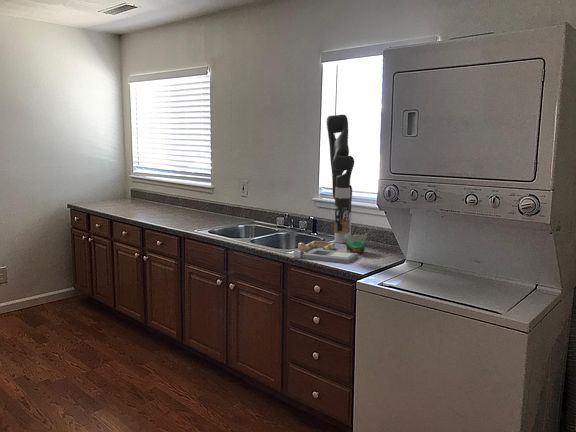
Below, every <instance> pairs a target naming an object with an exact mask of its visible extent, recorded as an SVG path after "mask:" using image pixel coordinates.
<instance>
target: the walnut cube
mask: <svg viewBox="0 0 576 432" xmlns="http://www.w3.org/2000/svg"><path fill="white" fill-rule="evenodd" d="M348 232H350V220H343V221H342V231H341V232H339V231H337V223H335V220H334V221H333V233H334V234H335V233H340V234H347V233H348Z"/></svg>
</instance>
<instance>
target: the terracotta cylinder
mask: <svg viewBox="0 0 576 432" xmlns="http://www.w3.org/2000/svg"><path fill="white" fill-rule="evenodd" d="M304 245H305V243H304V242H298V243H297V250H301V256H303V254H304V253H305V251H304Z"/></svg>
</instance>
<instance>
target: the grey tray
mask: <svg viewBox="0 0 576 432" xmlns="http://www.w3.org/2000/svg"><path fill="white" fill-rule="evenodd" d="M358 257H359V254H358V253H351V252H347V251H341V250H334V249H332V250H324V249H323V248H311V249H309V250H307V252H306V251H305V252H304V254H303V255H302V259H306V260H314V261H322V262H331V263H340V264H350V263H351V262H352V261H354V260H356V259H357V258H358Z"/></svg>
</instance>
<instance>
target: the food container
mask: <svg viewBox="0 0 576 432" xmlns="http://www.w3.org/2000/svg"><path fill="white" fill-rule="evenodd" d="M344 238H346V243H345V246H346V247H345V249H346V252H351V253H358V255H362V254H364V253H365V249H366V248H365V247H366V240H367V238H368V235H367V232H365V233H364V234H352V235H347V234H345V237H344Z"/></svg>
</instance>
